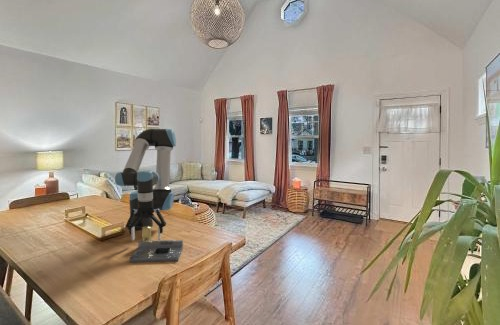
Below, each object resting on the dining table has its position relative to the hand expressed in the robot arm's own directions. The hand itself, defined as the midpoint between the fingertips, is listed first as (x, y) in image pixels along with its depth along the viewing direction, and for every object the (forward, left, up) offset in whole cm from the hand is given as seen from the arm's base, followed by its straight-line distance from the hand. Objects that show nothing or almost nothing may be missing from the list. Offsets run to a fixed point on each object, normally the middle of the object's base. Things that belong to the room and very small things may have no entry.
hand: (146, 239), depth 136 cm
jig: (+14, -5, -3) cm, 15 cm away
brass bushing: (0, 0, -3) cm, 3 cm away
